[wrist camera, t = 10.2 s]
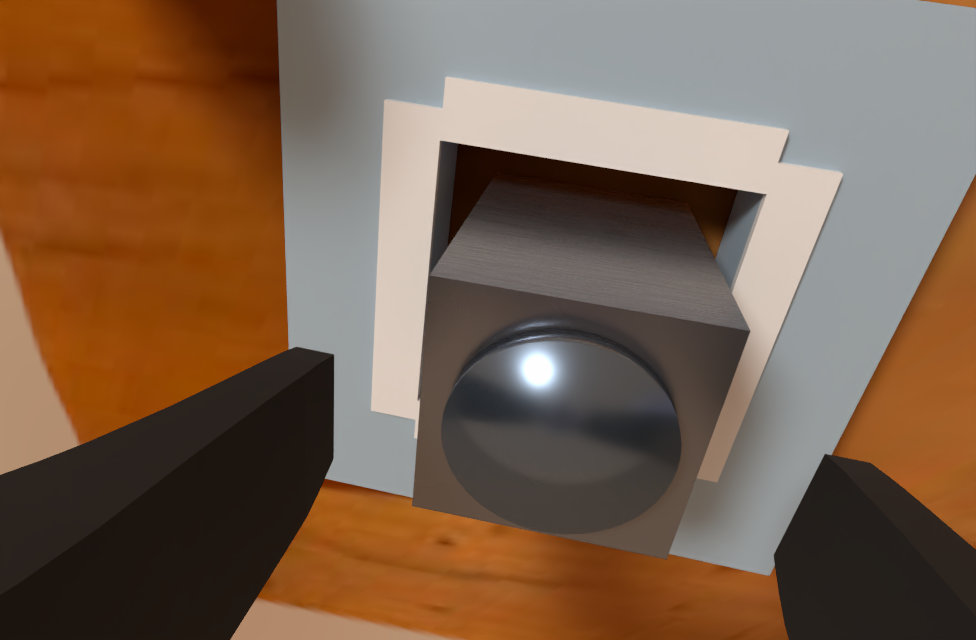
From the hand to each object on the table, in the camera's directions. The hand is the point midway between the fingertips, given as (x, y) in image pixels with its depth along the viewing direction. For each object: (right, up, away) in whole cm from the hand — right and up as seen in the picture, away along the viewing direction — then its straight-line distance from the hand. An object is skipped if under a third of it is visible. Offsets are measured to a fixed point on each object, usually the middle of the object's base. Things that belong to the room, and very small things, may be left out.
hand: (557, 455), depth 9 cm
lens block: (+1, +3, +6) cm, 7 cm away
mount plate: (+1, +3, +6) cm, 7 cm away
